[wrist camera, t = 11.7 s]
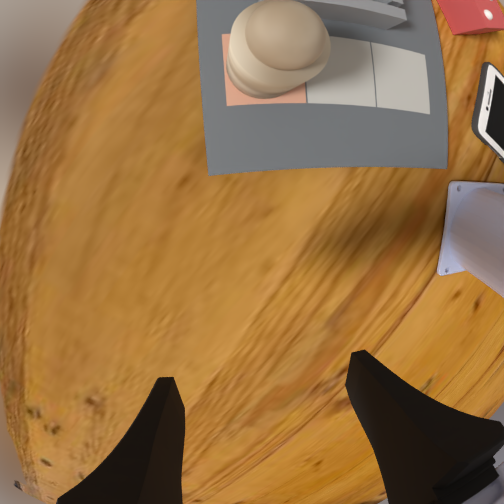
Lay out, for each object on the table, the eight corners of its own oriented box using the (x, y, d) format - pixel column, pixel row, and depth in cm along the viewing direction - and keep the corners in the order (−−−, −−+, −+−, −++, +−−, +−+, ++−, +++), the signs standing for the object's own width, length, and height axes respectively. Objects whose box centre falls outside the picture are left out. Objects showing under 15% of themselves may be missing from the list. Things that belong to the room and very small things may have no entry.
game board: (411, -38, 11) (435, -52, 8) (438, 166, 18) (470, 175, 15) (195, -67, 10) (193, -95, 7) (209, 173, 17) (207, 182, 14)
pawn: (295, 35, 13) (344, -16, 7) (301, 98, 15) (357, 78, 8) (224, 36, 13) (230, -25, 6) (228, 101, 14) (237, 75, 8)
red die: (459, -5, 12) (492, -15, 8) (478, 34, 14) (512, 28, 10) (432, -8, 12) (466, -22, 8) (453, 34, 14) (490, 26, 10)
